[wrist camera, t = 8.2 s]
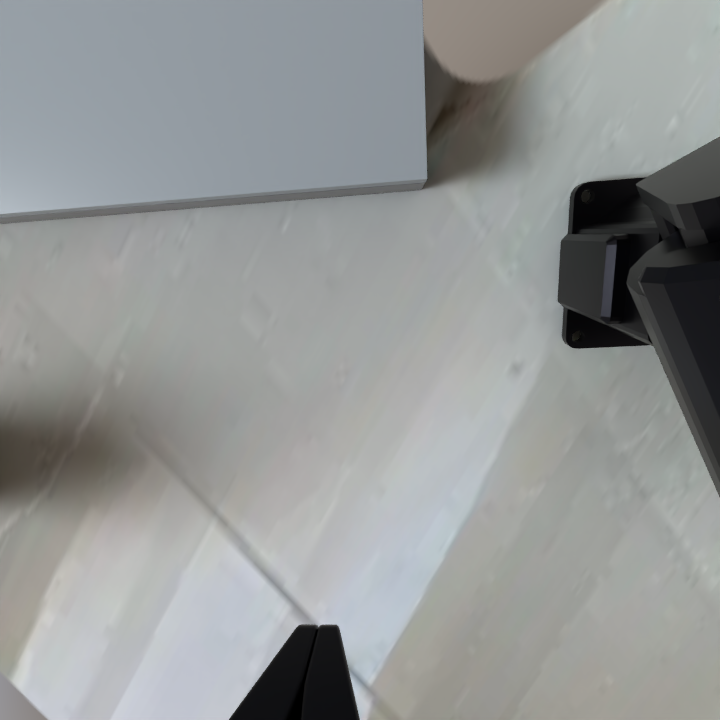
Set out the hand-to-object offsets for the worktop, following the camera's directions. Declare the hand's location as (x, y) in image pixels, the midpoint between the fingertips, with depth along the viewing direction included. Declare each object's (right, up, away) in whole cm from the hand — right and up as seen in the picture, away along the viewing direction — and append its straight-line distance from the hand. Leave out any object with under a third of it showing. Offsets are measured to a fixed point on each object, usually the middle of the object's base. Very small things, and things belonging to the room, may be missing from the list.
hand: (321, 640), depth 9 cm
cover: (-7, +15, +6) cm, 18 cm away
